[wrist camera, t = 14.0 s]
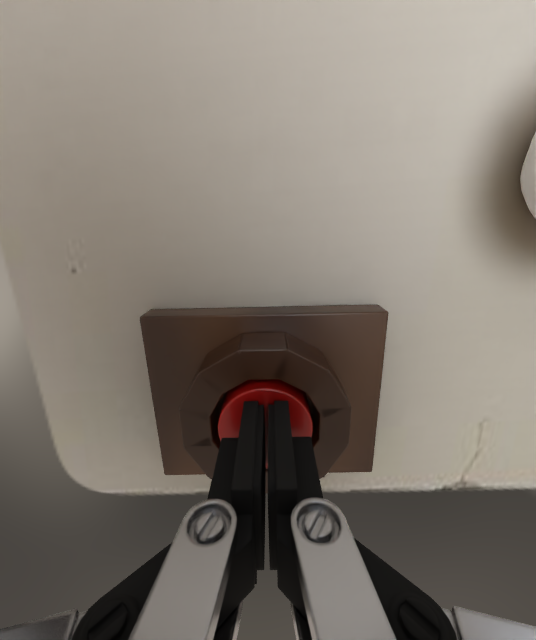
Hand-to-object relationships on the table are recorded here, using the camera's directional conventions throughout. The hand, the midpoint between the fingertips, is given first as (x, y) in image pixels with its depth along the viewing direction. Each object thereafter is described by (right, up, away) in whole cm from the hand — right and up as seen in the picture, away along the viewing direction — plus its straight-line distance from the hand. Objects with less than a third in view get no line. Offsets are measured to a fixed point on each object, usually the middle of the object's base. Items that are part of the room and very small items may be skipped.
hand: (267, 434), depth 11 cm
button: (0, +1, +2) cm, 2 cm away
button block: (0, +1, +3) cm, 3 cm away
